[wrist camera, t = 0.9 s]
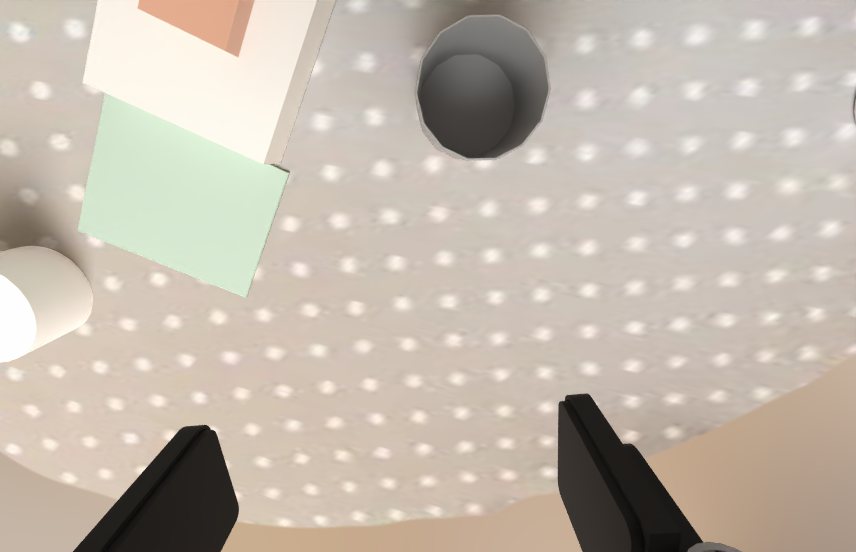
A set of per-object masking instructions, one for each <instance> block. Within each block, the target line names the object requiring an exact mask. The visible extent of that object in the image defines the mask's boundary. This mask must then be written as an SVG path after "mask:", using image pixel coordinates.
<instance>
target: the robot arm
mask: <svg viewBox="0 0 856 552" xmlns="http://www.w3.org/2000/svg"><path fill="white" fill-rule="evenodd" d="M558 486H559V491H560V495H561V498H562V500H563V502H564V505H565V508H566V510H567V513H568V515H569V518H570V521H571V523H572V526H573V528H574V531H575V533H576V536H577V539H578V541H579V544H580V546H581V549H582V551H583V552H741V551H739V550H738V549H736V548H733V547H730V546H727V545H724V544H721V543H713V542H705V543H703V541H702V540H701V538H700V537H699V536H698V534H697V533H696V532H695V530H694V529H693V527H692V526H691V524H690V523H689V521H688V520H687V519H686V517H685V516H684V514H683V513H682V512H681V510H680V509H679V507H678V506H677V505H676V503H675V502H674V500H673V499H672V497H671V496H670V495H669V493H668V492H667V490H666V489H665V487H664V486H663V485H662V483H661V482H660V481H659V479H658V478H657V476H656V475H655V473H654V472H653V471H652V469H651V468H650V466H649V465H648V463H647V462H646V461H645V459H644V458H643V456H642V455H641V454H640V452H639V451H638V449H637V448H636V447H635V446H634V445H632V444H622V442H621V441H620V439H619V438H618V436H617V435H616V433H615V432H614V430H613V429H612V427H611V426H610V424H609V423H608V421H607V420H606V418H605V417H604V415H603V414H602V412H601V411H600V409H599V408H598V406H597V405H596V403H595V402H594V400H593V399H592V397H591V396H590V395H589V394H576V395H567V396H566V397H565V401H560V402H559V412H558ZM238 513H239V506H238V502H237V499H236V495H235V492H234V489H233V486H232V482H231V479H230V476H229V473H228V469H227V466H226V463H225V460H224V456H223V453H222V450H221V447H220V444H219V440H218V437H217V434H216V432H215V431H214V430H211V429H210V427H209V426H207V425H198V426H186V427H183V428H182V429H180V430H179V431H178V433H177V434H176V435H175V436H174V437H173V438H172V439H171V440H170V442H169V443H168V444H167V445H166V446H165V447H164V448H163V450H162V451H161V452H160V453H159V454H158V455H157V456H156V458H155V459H154V460H153V461H152V462H151V463H150V464H149V466H148V467H147V468H146V469H145V470H144V471H143V472H142V474H141V475H140V476H139V477H138V478H137V479H136V480H135V482H134V483H133V484H132V485H131V486H130V487H129V488H128V489H127V491H126V492H125V493H124V494H123V495H122V496H121V497H120V499H119V500H118V501H117V502H116V503H115V504H114V506H113V507H112V508H111V509H110V510H109V511H108V512H107V513H106V515H105V516H104V517H103V518H102V519H101V520H100V521H99V523H98V524H97V525H96V526H95V527H94V528H93V529H92V531H91V532H90V533H89V534H88V535H87V536H86V537H85V539H84V540H83V541H82V542H81V543H80V544H79V545H78V547H77V548H76V549H75V550H74V551H73V552H221V550H222V548H223V546H224V544H225V542H226V540H227V538H228V536H229V534H230V532H231V530H232V528H233V526H234V524H235V522H236V520H237V517H238Z"/></svg>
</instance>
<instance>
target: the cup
mask: <svg viewBox="0 0 856 552" xmlns="http://www.w3.org/2000/svg"><path fill="white" fill-rule="evenodd" d="M550 90H551V87H550V80H549V74H548V67H547V60H546V56H545V54H544V53H543V51H542V50H541V48H540V47H539V45H538V44H537V42H536V41H535V39H534V38H533V36H532V35H531V33H530V32H529V30H528V29H526V28H524V27H523V26H521V25H519V24H517V23H515V22H513V21H511V20H510V19H508V18H506V17H504V16H502V15H500V14H492V15H467V16H466V17H464V18H462V19H461V20H459V21H457V22H455V23H454V24H452V25H450V26H448V27H447V28H445V29H443V30H442V31H440V32H439V33H438V35H437V36H436V38H435V39H434V41H433V42H432V44H431V45H430V47H429V48H428V50H427V51H426V53H425V54H424V56H423V57H422V59H421V61H420V67H419V72H418V78H417V84H416V90H415V97H416V105H417V111H418V115H419V119H420V123H421V127H422V132H423V133H424V134H425V136H426V137H427V138H428V139H429V141H430V142H431V143H432V145H433V146H434V147H435V148H436V149H437V150H439V151H441V152H443V153H445V154H447V155H449V156H451V157H453V158H456V159H461V160H467V161H469V160H497V159H499V158H501V157H503V156H504V155H506V154H508V153H510V152H512V151H514V150H516V149H518V148H520V147H522V146H523V145H524V144H525V142H526V141H527V140H528V139H529V137H530V136H531V135H532V134H533V132H534V131H535V130H536V128H537V127H538V126H539V125H540V123H541V122H542V120H543V117H544V113H545V109H546V105H547V102H548V98H549V94H550Z"/></svg>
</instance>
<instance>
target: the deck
mask: <svg viewBox="0 0 856 552" xmlns="http://www.w3.org/2000/svg"><path fill="white" fill-rule="evenodd" d="M335 2H336V0H255V1H254V4H253V8H252V11H251V15H250V18H249V22H248V25H247V29H246V32H245V36H244V39H243V43H242V46H241V50H240V53H239V57H236V56H234V55H232V54H230V53H228V52H226V51H224V50H221V49H219V48H217V47H215V46H213V45H211V44H209V43H207V42H205V41H203V40H201V39H199V38H197V37H195V36H193V35H191V34H188V33H186V32H184V31H182V30H180V29H178V28H176V27H174V26H172V25H170V24H168V23H166V22H164V21H162V20H160V19H158V18H156V17H154V16H152V15H150V14H148V13H146V12H144V11H142V10H140V9H138V4H139V0H98V3H97V8H96V14H95V19H94V25H93V30H92V35H91V41H90V46H89V51H88V57H87V62H86V68H85V73H84V78H83V83H84V84H86V85H88V86H91V87H93V88H95V89H97V90H100V91H102V92H104V93H106V94H108V95H111V96H113V97H115V98H117V99H119V100H122V101H124V102H126V103H128V104H131V105H133V106H135V107H137V108H139V109H142V110H144V111H146V112H148V113H151V114H153V115H155V116H157V117H159V118H162V119H164V120H166V121H168V122H170V123H173V124H175V125H177V126H179V127H182V128H184V129H186V130H188V131H190V132H193V133H195V134H197V135H199V136H202V137H204V138H206V139H208V140H210V141H213V142H215V143H217V144H219V145H221V146H224V147H226V148H228V149H230V150H233V151H235V152H237V153H239V154H241V155H244V156H246V157H248V158H250V159H252V160H255V161H257V162H259V163H261V164H277V163H281V161H282V158H283V155H284V152H285V149H286V146H287V143H288V140H289V138H290V135H291V132H292V129H293V126H294V123H295V120H296V117H297V114H298V111H299V108H300V105H301V102H302V99H303V96H304V93H305V90H306V87H307V84H308V81H309V78H310V75H311V73H312V70H313V67H314V64H315V61H316V58H317V55H318V52H319V49H320V46H321V43H322V40H323V37H324V34H325V31H326V28H327V25H328V22H329V19H330V16H331V13H332V10H333V7H334V5H335Z"/></svg>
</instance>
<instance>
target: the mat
mask: <svg viewBox="0 0 856 552" xmlns="http://www.w3.org/2000/svg"><path fill="white" fill-rule="evenodd" d="M289 174H290V173H288V172H286V171H284V170H281V169H279V168H277V167H275V166H272V165H270V164H261V163H259V162H257V161H255V160H252V159H250V158H248V157H246V156H244V155H241V154H239V153H237V152H235V151H233V150H230V149H228V148H226V147H224V146H221V145H219V144H217V143H215V142H213V141H210V140H208V139H206V138H204V137H202V136H199V135H197V134H195V133H193V132H190V131H188V130H186V129H184V128H182V127H179V126H177V125H175V124H173V123H170V122H168V121H166V120H164V119H162V118H159V117H157V116H155V115H153V114H151V113H148V112H146V111H144V110H142V109H139V108H137V107H135V106H133V105H131V104H128V103H126V102H124V101H122V100H119V99H117V98H115V97H113V96H111V95H108V94H106V93H105V97H104V102H103V107H102V112H101V117H100V122H99V127H98V132H97V136H96V141H95V146H94V151H93V156H92V161H91V166H90V171H89V176H88V181H87V186H86V191H85V196H84V201H83V206H82V210H81V215H80V220H79V225H78V230H77V231H80V232H82V233H85V234H87V235H90V236H92V237H95V238H97V239H100V240H102V241H105V242H107V243H110V244H112V245H115V246H117V247H120V248H122V249H125V250H127V251H130V252H132V253H135V254H137V255H140V256H142V257H145V258H147V259H150V260H152V261H155V262H157V263H160V264H162V265H165V266H167V267H170V268H172V269H175V270H177V271H180V272H182V273H185V274H187V275H190V276H192V277H195V278H197V279H199V280H202V281H204V282H207V283H209V284H212V285H214V286H217V287H219V288H222V289H224V290H227V291H229V292H232V293H234V294H237V295H239V296H242V297H244V298H246V297H247V295H248V292H249V289H250V286H251V283H252V280H253V278H254V275H255V272H256V269H257V266H258V263H259V260H260V257H261V255H262V252H263V249H264V246H265V243H266V240H267V237H268V234H269V231H270V229H271V226H272V223H273V220H274V217H275V214H276V211H277V208H278V206H279V203H280V200H281V197H282V194H283V191H284V188H285V185H286V183H287V180H288V177H289Z"/></svg>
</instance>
